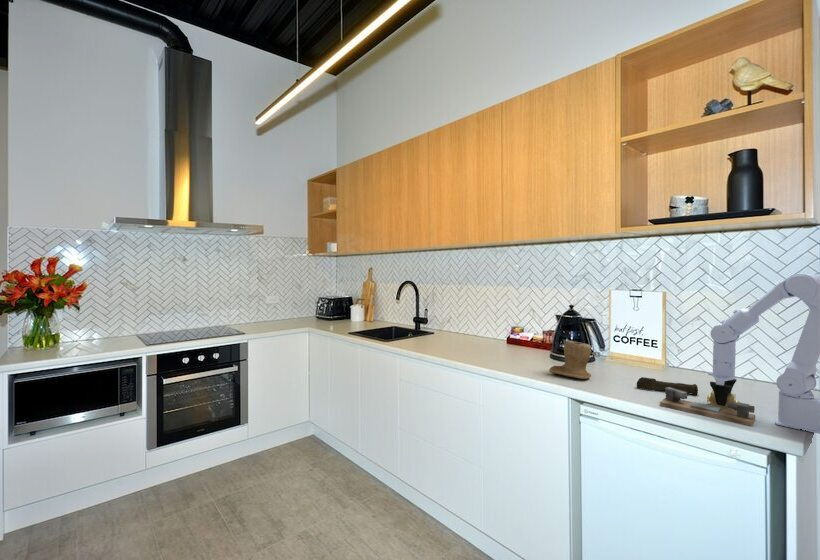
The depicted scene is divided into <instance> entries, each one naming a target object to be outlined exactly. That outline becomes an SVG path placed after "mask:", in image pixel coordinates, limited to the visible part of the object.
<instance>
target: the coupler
mask: <svg viewBox="0 0 820 560" xmlns="http://www.w3.org/2000/svg"><path fill="white" fill-rule="evenodd" d="M736 395H737V394H736V393H732V392H731V393H729V394H728V397H727V402H726V405H725V406H721V405H717V403H716V400H715V395H714V391H713V390H711V392H710V395H708V394H707V397H706V401H707V402H710V404H709V405H713V406H717V407H721V408H724V409H729V410H734V411H735V409H731V408H728V401H730V402H735V403H740V401H739V400H737V398H736V397H737V396H736Z"/></svg>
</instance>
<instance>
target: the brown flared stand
mask: <svg viewBox="0 0 820 560" xmlns="http://www.w3.org/2000/svg"><path fill="white" fill-rule="evenodd" d="M591 353H592V347H591V345H590V344H588V343H584V342H578V341H574V340H566V342H565V343H564V345H563V356H564V364H562V365H553V366H551V367H550V368H549V370H548V371H549V373H552V374H555V375H559V376H564V377H568V378H574V379H579V380H580V379H583V380H586V379H590V378H591V377H592V374H591V373H590V372H588V371H587V364H588V363H589V360H590V357H591Z"/></svg>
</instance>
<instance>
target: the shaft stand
mask: <svg viewBox="0 0 820 560" xmlns="http://www.w3.org/2000/svg"><path fill="white" fill-rule="evenodd" d="M664 392H665V397H664V398H663V399H662V400H661V401H659V406H660V405H661V406H660V407H664V406H665V407H666V408H669V409H673V410H678V411H683V412H688V413H692V414H697V415H699V416H700V415H701V416H706V417H710V418H714V419H719V420H722V421H727V422H732V423H737V424H742V425H746V426H751V427H753V425H754V423H755V421H756V414H755V408H756V407H755V405H751V404H749V403H744V402H739V403H735V402H730V401H728V408H731V409H734V410H729V409H724V408H721V407H717V406H713V405H710V404H707V403H702V402H697V401H690V400H689V401H688V400H687V399H688V394H687V392H684V391H681V390H678V389H674V388H671V387H668V388H665V391H664Z"/></svg>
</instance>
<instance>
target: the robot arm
mask: <svg viewBox="0 0 820 560" xmlns="http://www.w3.org/2000/svg"><path fill="white" fill-rule="evenodd" d="M795 297H796V298H798V299H800V300H801V301H802V302H803V303H804V304H805V305H806V306H807V307H808V308H809V312H808V315H807V318H806V320H805V324H804V325H803V329H802V330H801V333H800V336H799V339H798V342H797V345H796V347H795V350H794V352H793V355H792V359H791V361H790V362H789V363H788V365H787V366H786V367H785V370H784V372H783V373H781V374H780V375H779V376H778V377H777V378H776V383H775V384H776V387H777V388H778V389H779V390H778V408H777V409H778V410H777V411H778V412H777V413H778V414H777V416H776V419H775V423H774V424H775V425H778V426H781V427H785V428H786V427H787V428H791V429H797V430H800V429H802V430H801V431H805V430H806V432H810V433H813V434H814V433H815V434H819V435H820V398H817V397H815V394H814V393H813V392H812V391H813V390H814V389H815V388H816V386H817V379H816V373H817V363H818V361H819V358H820V275H819V274H816V273H794V274H792V275H790V276H789V277H788V278H787V279H786V280H785V279H784V280H783V281H781V282H779V283H778V284H777V285H775V286H774V287H772V289H770V290H769V291H768V292H767V293H766V294H764V295H763V296H762V297H760V299H758V300H757V301H756V302H755V303H754V304H752V305H751V306H750V307H748V308H744V307H742V308H740V309H735V310H733V312H732V315H731V316H729V317H728V318H727V319H724V320H722V321H720V323H721V324H719V325H714V326H713V328H712V329H711V330H710V334H709V335H710V337H711V339H712V340H713V344H712V345H713V349H712V350H713V351H712V371H709V372H707V375H708V376H712V377H713V378H714V380H715V381H709V385H710V387H711V389H712V391H714V395H715V400H716V403H717V405H721V406H725V405H726V402H727V397H728V394H729V393H731V394H732V391H733V388H734V385H735V383H737V381H738V380H737V377H736V351H737V350H736V342H737V341H738V340H739V338H740V336H741V335H742V334H744V333H746V332H747V331H748V330H750V329H751V328H752V327H754V326H755V325H756V324H758V323H759V321H760V316H761V315H762V314H764V313H765V312H767V311H768V310H769V309H771V308H773V307H774V306H776V305H777V304H778V303H780V302H782V301H783V300H786V299H790V298H795Z"/></svg>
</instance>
